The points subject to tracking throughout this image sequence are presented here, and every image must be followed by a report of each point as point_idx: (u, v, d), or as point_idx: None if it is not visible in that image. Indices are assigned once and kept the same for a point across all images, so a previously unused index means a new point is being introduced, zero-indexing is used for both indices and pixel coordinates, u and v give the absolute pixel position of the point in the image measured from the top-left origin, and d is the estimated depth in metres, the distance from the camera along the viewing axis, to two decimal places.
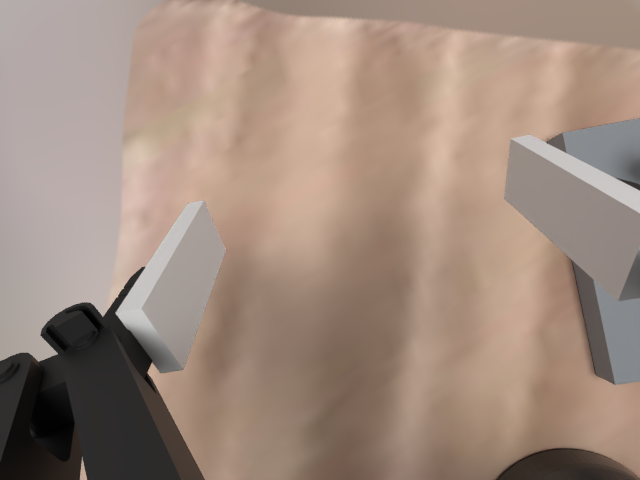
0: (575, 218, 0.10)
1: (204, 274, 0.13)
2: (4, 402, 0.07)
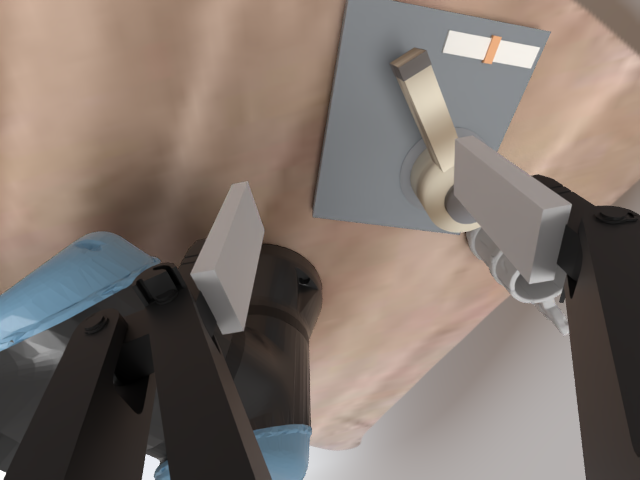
0: (499, 210, 0.12)
1: (251, 249, 0.14)
2: (94, 352, 0.08)
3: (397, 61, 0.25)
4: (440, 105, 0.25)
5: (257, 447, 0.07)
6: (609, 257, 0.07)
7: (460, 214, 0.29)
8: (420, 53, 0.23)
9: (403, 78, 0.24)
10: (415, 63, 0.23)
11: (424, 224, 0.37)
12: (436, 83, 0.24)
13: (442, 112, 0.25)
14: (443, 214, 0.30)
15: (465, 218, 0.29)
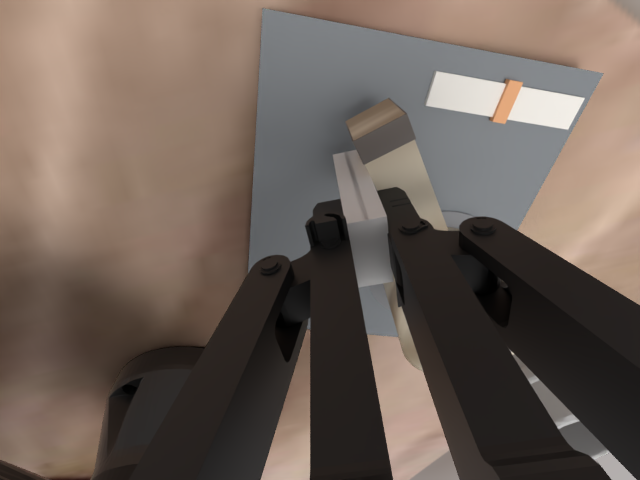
0: None
1: None
2: (266, 294, 0.09)
3: (356, 122, 0.14)
4: (430, 206, 0.14)
5: None
6: (418, 265, 0.08)
7: None
8: (395, 117, 0.12)
9: (362, 159, 0.13)
10: (385, 135, 0.12)
11: None
12: (423, 171, 0.13)
13: (431, 216, 0.14)
14: None
15: None
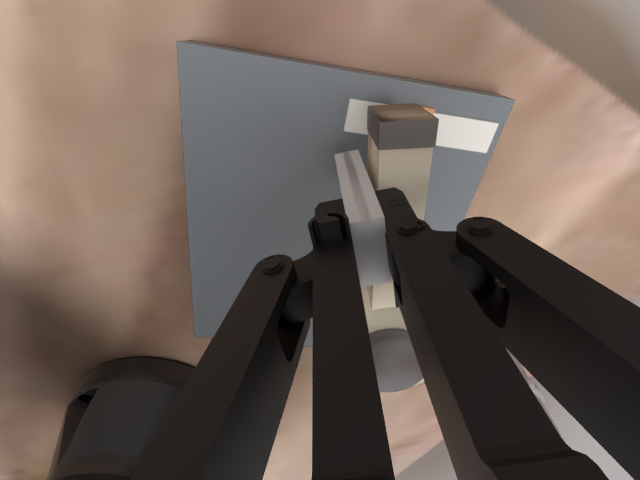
0: None
1: None
2: (268, 293, 0.09)
3: (382, 110, 0.14)
4: None
5: None
6: (415, 265, 0.08)
7: None
8: (426, 118, 0.12)
9: (380, 144, 0.12)
10: (411, 130, 0.12)
11: None
12: (426, 181, 0.13)
13: None
14: None
15: None
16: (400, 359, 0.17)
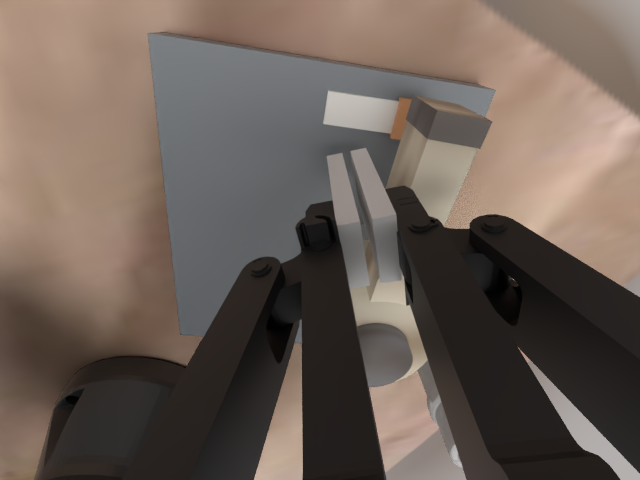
0: (366, 218, 0.13)
1: None
2: (256, 296, 0.09)
3: (430, 101, 0.13)
4: (440, 215, 0.14)
5: (373, 412, 0.08)
6: (427, 263, 0.08)
7: None
8: (479, 118, 0.12)
9: (430, 133, 0.12)
10: (463, 126, 0.12)
11: None
12: (461, 181, 0.13)
13: None
14: None
15: None
16: (386, 355, 0.17)
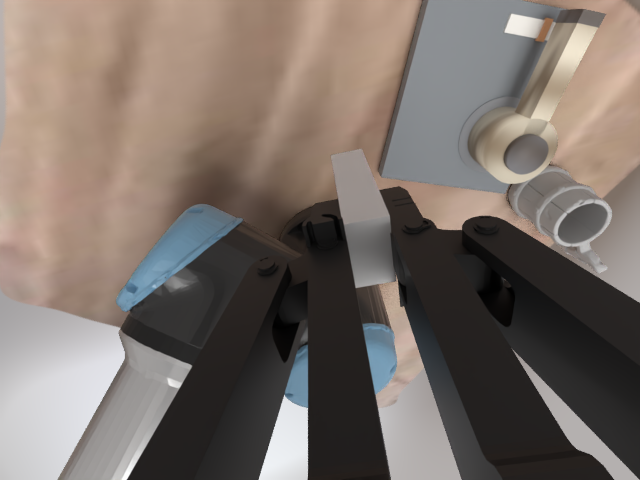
0: None
1: None
2: (263, 294, 0.09)
3: None
4: (575, 64, 0.31)
5: None
6: (421, 265, 0.08)
7: (515, 158, 0.35)
8: (600, 13, 0.29)
9: (578, 20, 0.29)
10: (593, 16, 0.29)
11: (475, 184, 0.44)
12: (587, 44, 0.30)
13: (571, 70, 0.31)
14: (500, 153, 0.35)
15: (514, 165, 0.35)
16: (535, 149, 0.34)
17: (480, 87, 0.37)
